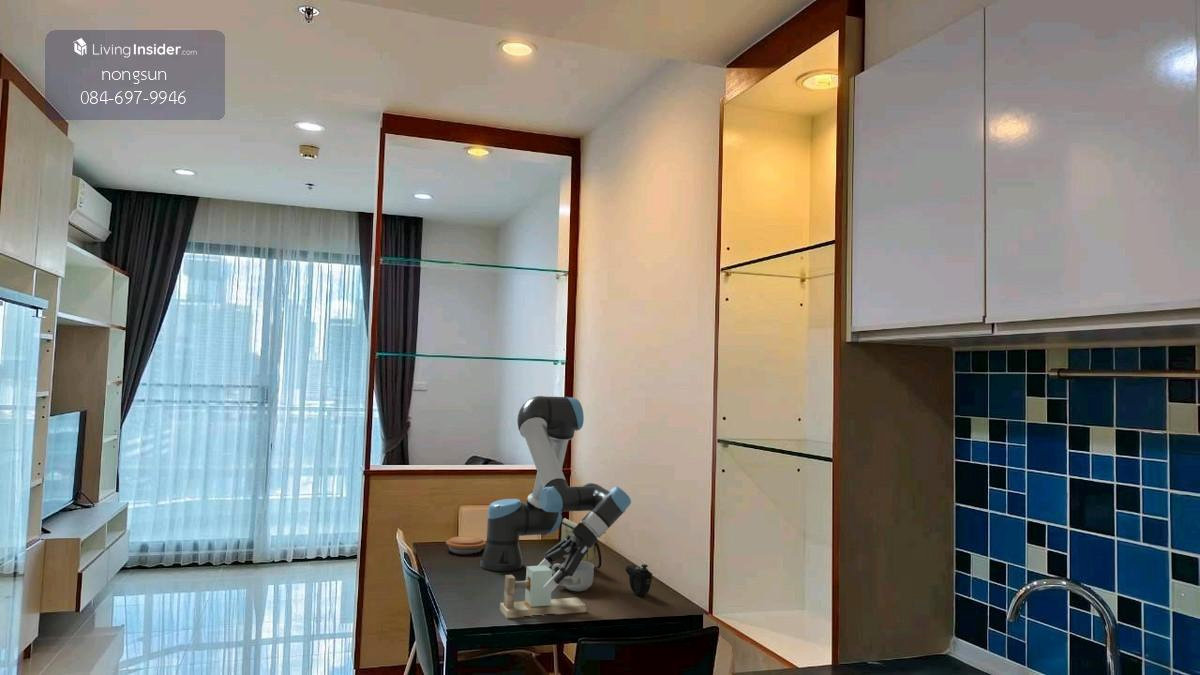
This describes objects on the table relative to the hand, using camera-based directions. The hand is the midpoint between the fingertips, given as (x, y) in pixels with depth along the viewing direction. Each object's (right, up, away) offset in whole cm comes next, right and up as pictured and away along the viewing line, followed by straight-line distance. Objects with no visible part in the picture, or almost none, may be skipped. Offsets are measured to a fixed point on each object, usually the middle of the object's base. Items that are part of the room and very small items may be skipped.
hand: (539, 584), depth 219 cm
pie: (-34, -11, +71) cm, 80 cm away
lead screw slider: (+1, -8, +1) cm, 8 cm away
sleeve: (0, -6, 0) cm, 6 cm away
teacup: (+9, -10, +26) cm, 29 cm away
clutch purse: (+11, -12, +58) cm, 61 cm away
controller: (+30, -11, +23) cm, 39 cm away
